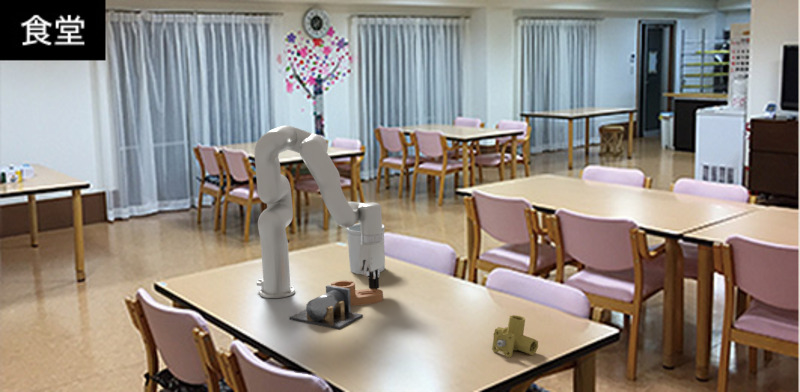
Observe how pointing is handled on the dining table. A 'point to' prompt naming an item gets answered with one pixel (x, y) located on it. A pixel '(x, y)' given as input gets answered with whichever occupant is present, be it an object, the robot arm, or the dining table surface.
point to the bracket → (360, 293)
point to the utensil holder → (357, 247)
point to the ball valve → (513, 338)
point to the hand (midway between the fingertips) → (374, 288)
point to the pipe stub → (329, 309)
